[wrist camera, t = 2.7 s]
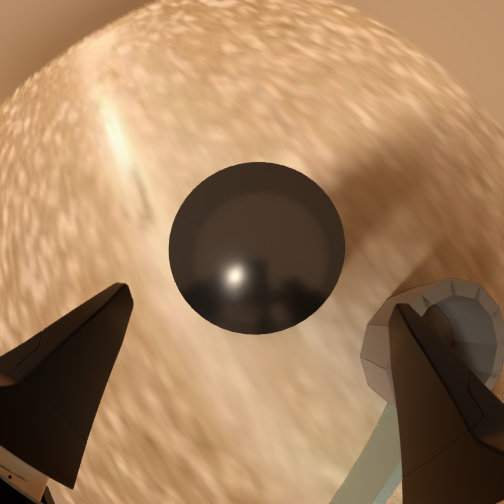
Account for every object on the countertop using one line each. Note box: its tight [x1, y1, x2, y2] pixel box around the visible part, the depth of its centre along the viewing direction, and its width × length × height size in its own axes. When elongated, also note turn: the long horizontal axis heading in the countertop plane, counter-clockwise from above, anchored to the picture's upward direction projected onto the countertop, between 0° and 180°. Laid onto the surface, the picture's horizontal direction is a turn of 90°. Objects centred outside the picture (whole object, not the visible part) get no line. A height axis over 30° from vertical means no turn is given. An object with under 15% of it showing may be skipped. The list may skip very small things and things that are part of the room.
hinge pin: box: [169, 162, 345, 335], centre depth 13 cm, size 4×4×12 cm
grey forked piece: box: [329, 278, 504, 504], centre depth 13 cm, size 18×13×5 cm
